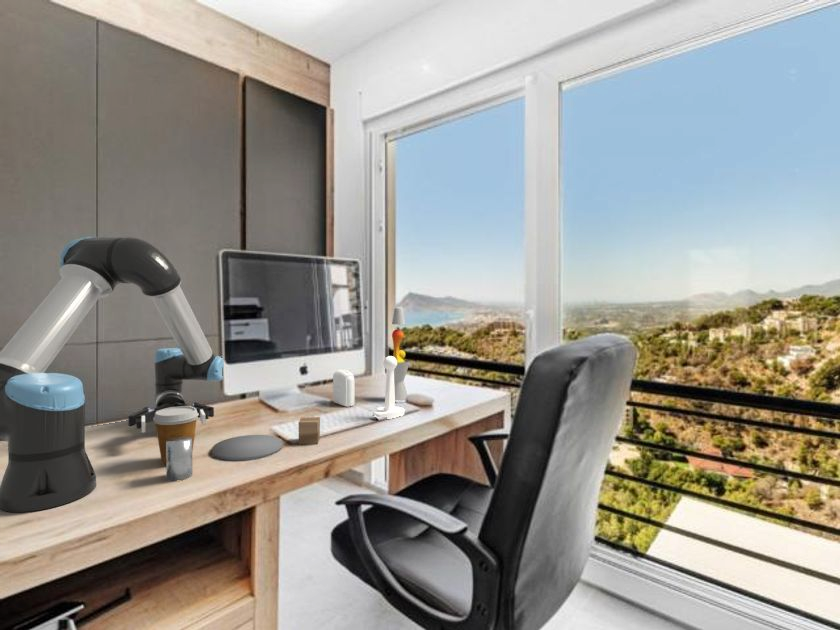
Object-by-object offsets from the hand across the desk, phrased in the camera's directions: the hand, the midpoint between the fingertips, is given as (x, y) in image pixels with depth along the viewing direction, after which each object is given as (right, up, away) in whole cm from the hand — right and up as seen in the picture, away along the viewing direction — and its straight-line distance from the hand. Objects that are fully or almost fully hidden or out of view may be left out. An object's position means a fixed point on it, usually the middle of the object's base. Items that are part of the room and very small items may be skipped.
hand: (174, 423), depth 117 cm
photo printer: (+35, -5, +49) cm, 61 cm away
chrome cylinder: (+10, -8, -17) cm, 21 cm away
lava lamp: (+54, -5, +56) cm, 78 cm away
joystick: (+52, -6, +34) cm, 62 cm away
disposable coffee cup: (+5, -7, -8) cm, 12 cm away
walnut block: (+33, -7, +8) cm, 34 cm away
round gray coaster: (+18, -7, +1) cm, 20 cm away
